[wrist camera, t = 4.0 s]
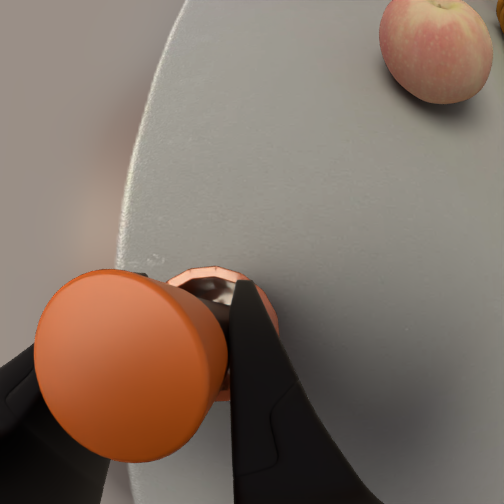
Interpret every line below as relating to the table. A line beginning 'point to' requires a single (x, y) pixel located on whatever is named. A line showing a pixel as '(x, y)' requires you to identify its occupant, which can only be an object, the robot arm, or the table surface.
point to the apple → (436, 48)
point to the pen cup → (218, 297)
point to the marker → (130, 363)
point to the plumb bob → (500, 13)
